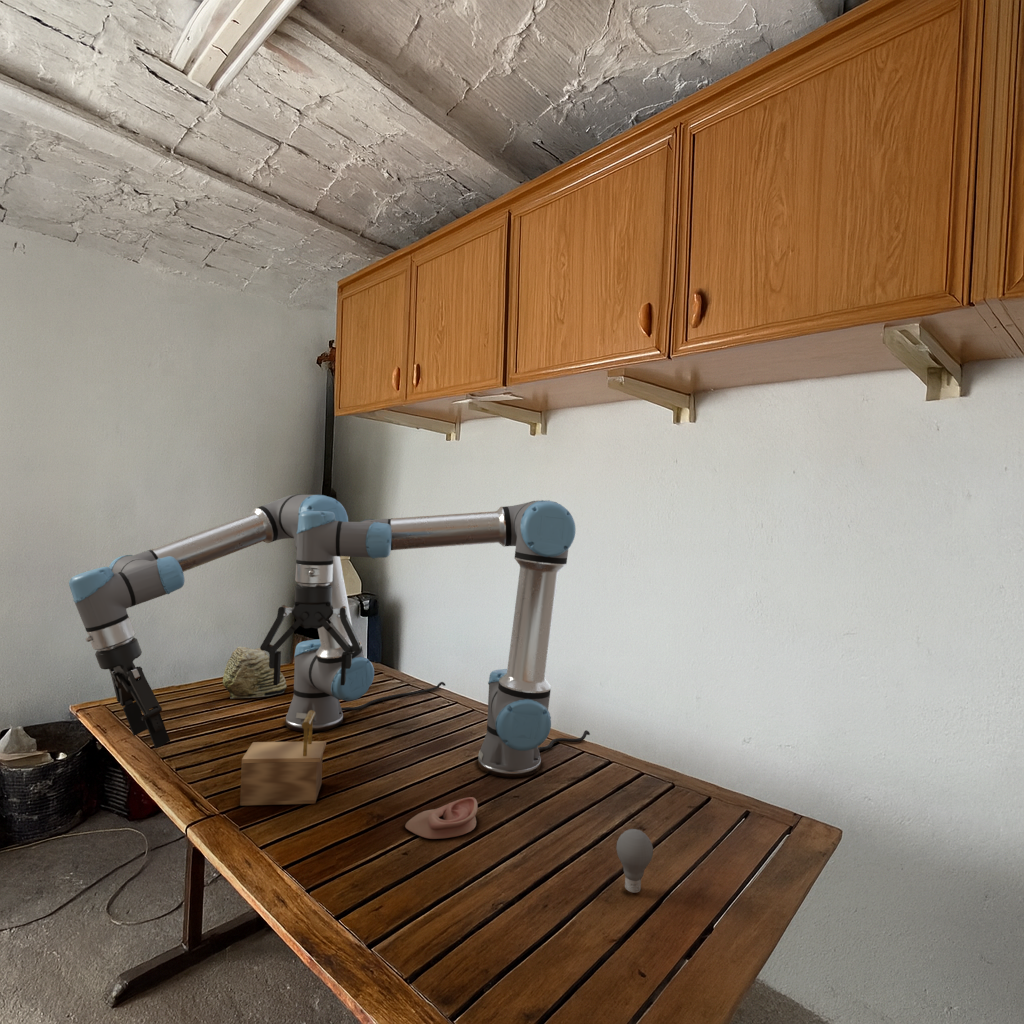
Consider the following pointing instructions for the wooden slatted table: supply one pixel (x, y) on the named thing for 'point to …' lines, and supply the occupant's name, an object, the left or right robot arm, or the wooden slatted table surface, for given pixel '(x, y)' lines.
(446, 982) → the wooden slatted table surface
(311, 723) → the lid
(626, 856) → the light bulb
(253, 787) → the chest
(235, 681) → the fossil
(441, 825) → the anatomical model
